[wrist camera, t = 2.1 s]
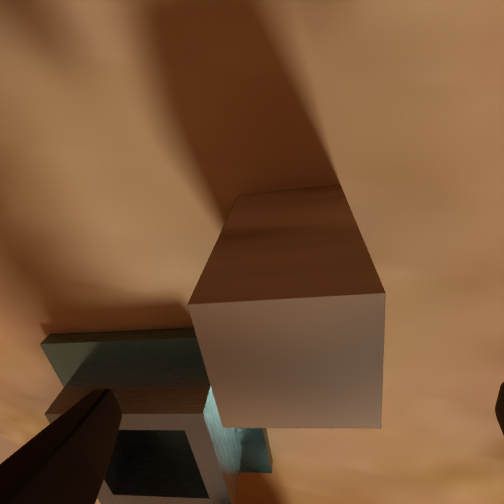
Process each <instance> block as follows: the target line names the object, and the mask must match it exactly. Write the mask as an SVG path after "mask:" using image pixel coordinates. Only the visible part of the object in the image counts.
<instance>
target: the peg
mask: <svg viewBox="0 0 504 504" xmlns="http://www.w3.org/2000/svg"><path fill="white" fill-rule="evenodd" d="M385 295H386V293H385V291H384V288H383V286H382V283H381V281H380V279H379V276H378V274H377V271H376V269H375V267H374V264H373V262H372V259H371V257H370V255H369V252H368V250H367V247H366V245H365V243H364V240H363V238H362V235H361V233H360V231H359V228H358V226H357V223H356V221H355V219H354V216H353V214H352V211H351V209H350V207H349V204H348V202H347V199H346V197H345V195H344V192H343V190H342V187H341V185H340V184H339V185H330V186H322V187H313V188H304V189H295V190H286V191H277V192H268V193H259V194H250V195H241V196H238V197H237V199H236V201H235V203H234V205H233V207H232V210H231V212H230V214H229V216H228V218H227V220H226V223H225V225H224V227H223V229H222V231H221V233H220V235H219V238H218V240H217V242H216V244H215V246H214V248H213V251H212V253H211V255H210V257H209V259H208V261H207V263H206V266H205V268H204V270H203V272H202V274H201V276H200V279H199V281H198V283H197V285H196V287H195V289H194V291H193V294H192V296H191V298H190V300H189V302H188V304H187V305H188V309H189V312H190V316H191V319H192V322H193V326H194V329H195V333H196V336H197V340H198V343H199V347H200V350H201V354H202V357H203V361H204V364H205V368H206V371H207V375H208V378H209V382H210V385H211V389H212V392H213V396H214V399H215V403H216V406H217V410H218V413H219V417H220V420H221V423H222V427H223V428H377V429H381V414H382V384H383V355H384V325H385Z"/></svg>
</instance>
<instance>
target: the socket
mask: <svg viewBox="0 0 504 504" xmlns="http://www.w3.org/2000/svg"><path fill="white" fill-rule="evenodd" d="M40 345H41V347H42V349H43V351H44V352H45V354H46V356H47V358H48V360H49V361H50V363H51V365H52V367H53V368H54V370H55V372H56V374H57V376H58V377H59V379H60V381H61V383H62V384H63V386H64V388H63V390H62V391H61V392H60V394H59V395H58V396H57V398H56V399H55V400H54V402H53V403H52V405H51V406H50V407H49V409H48V410H47V411H46V413H45V416H46V417H47V419H48V421H49V422H50V424H51V423H52V422H53V421H55V420H56V419H57V418H58V417H60V416H61V415H62V414H63V413H64V412H66V411H67V410H68V409H69V408H71V407H72V406H73V405H74V404H76V403H77V402H78V401H79V400H81V399H82V398H83V397H84V396H86V395H87V394H88V393H89V392H91V391H92V390H93V389H95V388H111V389H112V390H113V391H114V393H115V395H116V397H117V399H118V402H119V404H120V406H121V408H122V420H121V423H120V427H119V430H118V433H117V437H116V440H115V444H114V447H113V450H112V454H111V457H110V461H109V464H108V467H107V471H106V474H105V477H104V480H103V483H102V486H101V489H100V491H99V494H98V497H97V498H98V500H99V501H100V503H101V504H235V500H236V492H237V485H238V478H239V472H255V473H272V462H273V461H272V456H271V451H270V446H269V441H268V436H267V431H266V428H223V427H222V423H221V420H220V417H219V413H218V410H217V406H216V403H215V399H214V396H213V392H212V389H211V385H210V382H209V378H208V375H207V371H206V368H205V364H204V361H203V357H202V354H201V350H200V347H199V343H198V340H197V336H196V333H195V329H194V328H185V329H163V330H142V331H120V332H98V333H77V334H55V335H48V336H47V337H46V338H45V339H44V340H43V341H42V342H41V344H40Z"/></svg>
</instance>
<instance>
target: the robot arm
mask: <svg viewBox="0 0 504 504" xmlns="http://www.w3.org/2000/svg"><path fill="white" fill-rule="evenodd" d="M495 413H496V417H497V420H498V423H499V425H500V427H501V430H502V432H503V435H504V382H503V383H502V384H501V386H500V390H499V394H498V398H497V402H496V406H495ZM121 420H122V408H121V406H120V404H119V402H118V399H117V397H116V395H115V393H114V391H113V390H112V389H111V388H95V389H93V390H92V391H91V392H89V393H88V394H87V395H86V396H84V397H83V398H82V399H81V400H79V401H78V402H77V403H76V404H74V405H73V406H72V407H71V408H69V409H68V410H67V411H66V412H64V413H63V414H62V415H61V416H60V417H58V418H57V419H56V420H55V421H53V422H52V423H51V424H50V425H48V426H47V427H46V428H45V429H43V430H42V431H41V432H40V433H38V434H37V435H36V436H35V437H33V438H32V439H31V440H30V441H28V442H27V443H26V444H25V445H23V446H22V447H21V448H20V449H19V450H17V451H16V452H15V453H14V454H12V455H11V456H10V457H9V458H7V459H6V460H5V461H4V462H2V463H1V464H0V504H95V502H96V499H97V497H98V494H99V491H100V489H101V486H102V483H103V480H104V477H105V474H106V471H107V467H108V464H109V461H110V457H111V454H112V450H113V447H114V444H115V440H116V437H117V433H118V430H119V427H120V423H121Z"/></svg>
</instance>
